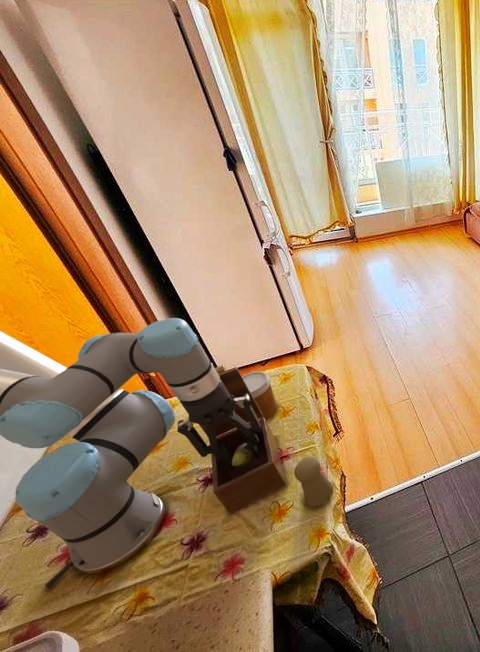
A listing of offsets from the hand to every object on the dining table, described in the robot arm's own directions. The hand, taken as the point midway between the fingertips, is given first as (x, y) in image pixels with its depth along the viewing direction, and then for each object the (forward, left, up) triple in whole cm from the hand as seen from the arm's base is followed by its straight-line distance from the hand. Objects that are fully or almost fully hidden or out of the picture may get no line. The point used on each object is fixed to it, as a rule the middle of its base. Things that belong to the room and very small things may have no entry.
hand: (245, 459), depth 85 cm
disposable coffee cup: (+5, +20, -6) cm, 22 cm away
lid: (0, +8, +12) cm, 14 cm away
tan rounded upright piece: (+12, -14, -6) cm, 20 cm away
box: (0, 0, -6) cm, 6 cm away
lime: (0, 0, 0) cm, 1 cm away
